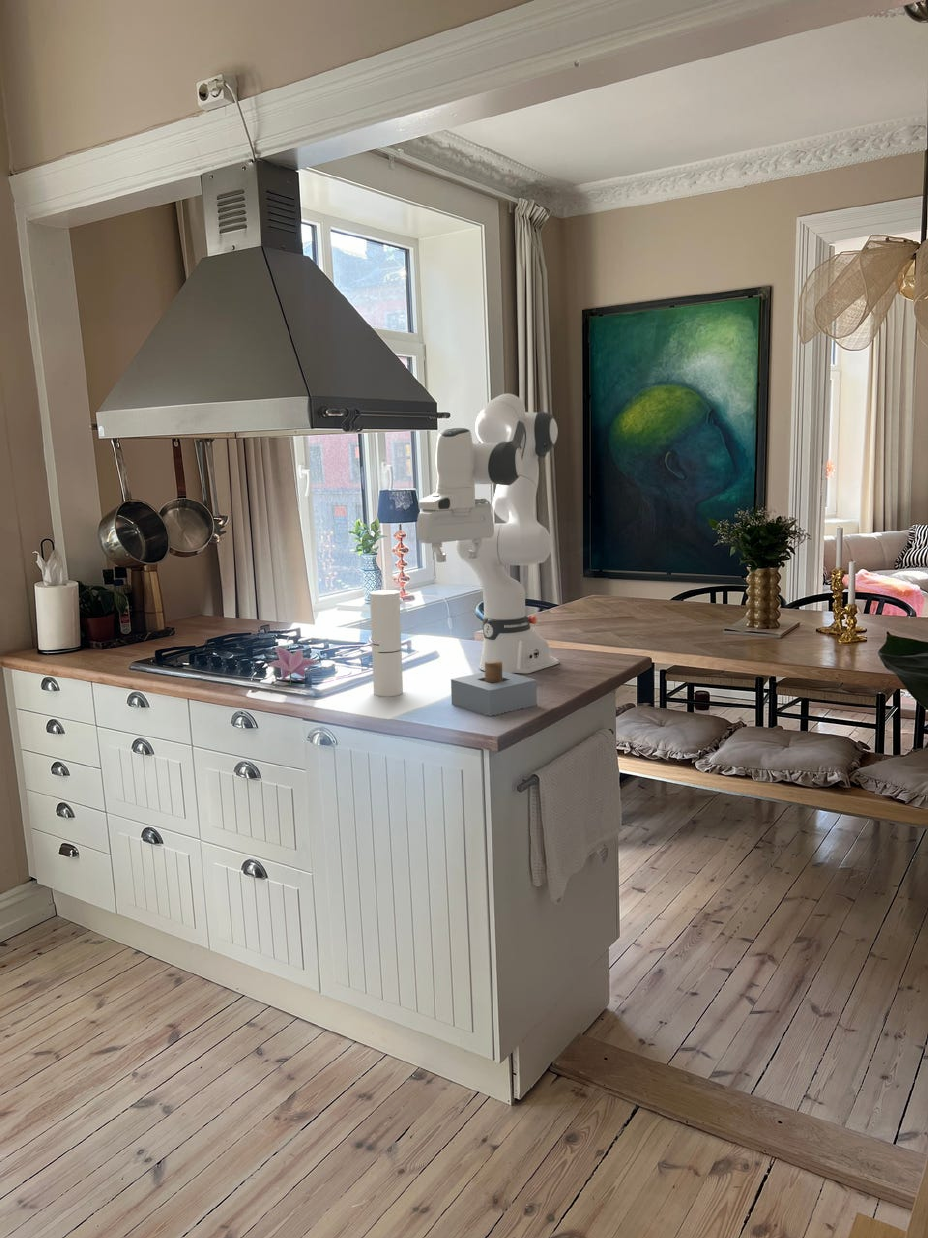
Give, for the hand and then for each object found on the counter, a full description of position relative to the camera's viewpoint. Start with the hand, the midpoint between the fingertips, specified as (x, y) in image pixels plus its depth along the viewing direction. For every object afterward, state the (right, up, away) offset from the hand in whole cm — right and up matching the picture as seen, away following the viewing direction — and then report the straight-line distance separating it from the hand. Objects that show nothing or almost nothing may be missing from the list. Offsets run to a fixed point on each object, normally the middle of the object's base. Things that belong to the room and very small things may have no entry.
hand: (457, 560), depth 216 cm
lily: (-43, -30, +26) cm, 58 cm away
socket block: (+8, -34, -1) cm, 35 cm away
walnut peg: (+9, -34, -1) cm, 35 cm away
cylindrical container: (-17, -32, +12) cm, 38 cm away
